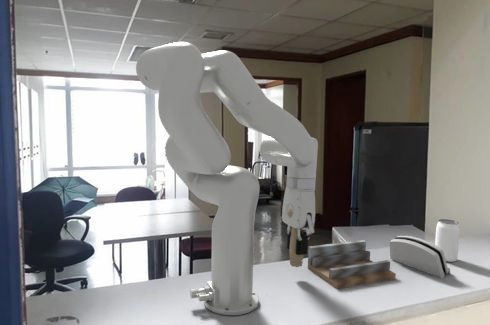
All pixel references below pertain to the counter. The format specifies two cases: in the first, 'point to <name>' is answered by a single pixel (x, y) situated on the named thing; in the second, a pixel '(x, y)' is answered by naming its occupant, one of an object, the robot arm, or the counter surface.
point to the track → (347, 264)
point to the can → (448, 238)
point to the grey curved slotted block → (419, 255)
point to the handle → (294, 246)
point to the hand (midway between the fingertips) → (296, 250)
